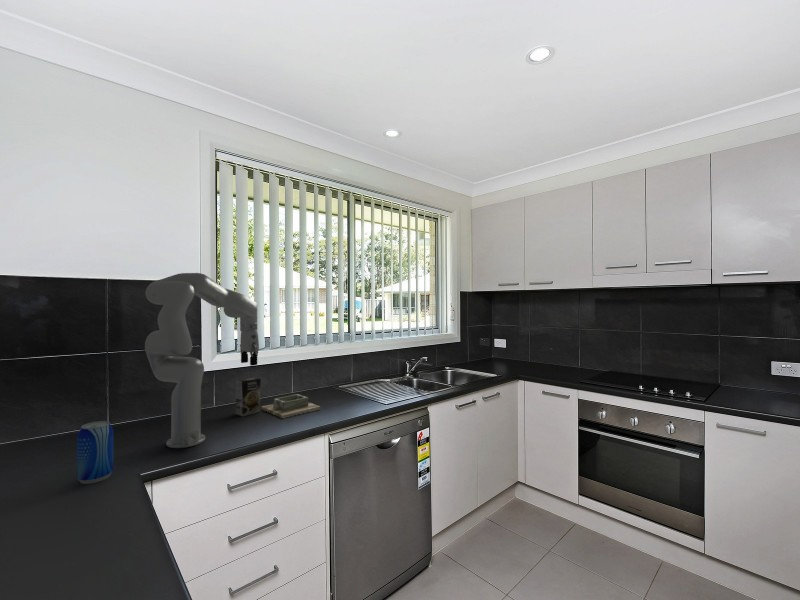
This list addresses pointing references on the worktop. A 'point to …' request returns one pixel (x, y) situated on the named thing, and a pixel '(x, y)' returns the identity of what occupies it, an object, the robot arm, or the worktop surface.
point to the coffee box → (248, 396)
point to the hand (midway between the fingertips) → (249, 363)
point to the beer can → (94, 452)
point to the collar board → (290, 406)
